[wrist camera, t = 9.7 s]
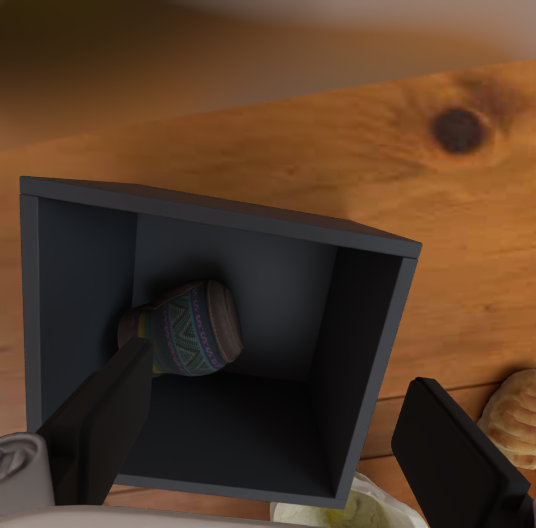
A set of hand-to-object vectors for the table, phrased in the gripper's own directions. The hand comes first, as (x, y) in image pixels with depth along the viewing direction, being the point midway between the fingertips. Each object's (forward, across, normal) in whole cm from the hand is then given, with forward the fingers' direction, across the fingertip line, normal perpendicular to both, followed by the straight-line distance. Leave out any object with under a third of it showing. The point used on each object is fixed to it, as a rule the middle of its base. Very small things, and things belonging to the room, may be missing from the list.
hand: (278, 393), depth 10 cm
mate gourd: (+12, +2, +3) cm, 13 cm away
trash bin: (+16, +3, +3) cm, 17 cm away
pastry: (+17, -27, +11) cm, 33 cm away
